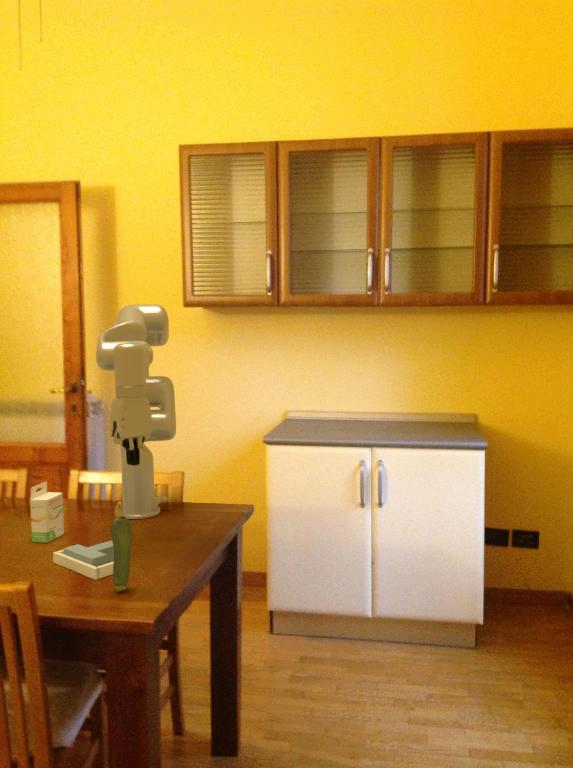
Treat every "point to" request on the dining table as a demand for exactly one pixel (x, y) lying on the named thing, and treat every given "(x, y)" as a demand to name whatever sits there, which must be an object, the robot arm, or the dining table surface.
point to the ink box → (46, 514)
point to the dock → (82, 566)
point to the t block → (92, 553)
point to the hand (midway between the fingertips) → (133, 464)
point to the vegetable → (121, 548)
